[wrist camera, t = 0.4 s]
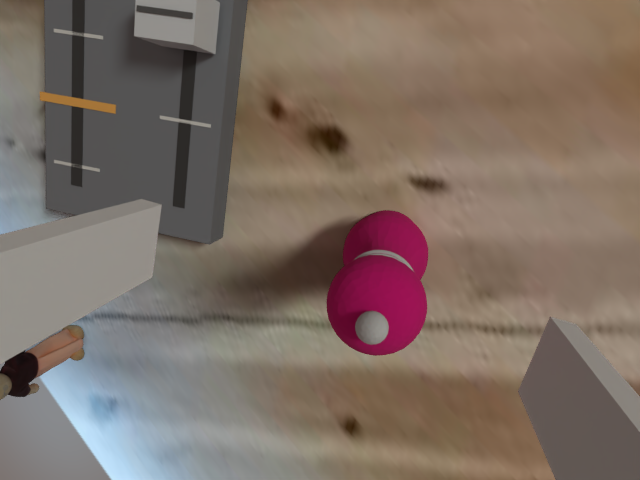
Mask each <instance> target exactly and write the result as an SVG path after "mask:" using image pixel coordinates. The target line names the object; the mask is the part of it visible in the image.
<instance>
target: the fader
mask: <svg viewBox="0 0 640 480" xmlns="http://www.w3.org/2000/svg"><path fill="white" fill-rule="evenodd" d="M219 9H220V3H219V2H218V1H217V0H136V2H135V26H134V36H135V37H138V38H141V39H143V40H146V41H149V42H152V43H154V44H157V45H160V46H164V47H171V48H177V49H184V50H190V51H197V52H204V53H210V54H215V53H216V42H217V31H218V20H219Z"/></svg>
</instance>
